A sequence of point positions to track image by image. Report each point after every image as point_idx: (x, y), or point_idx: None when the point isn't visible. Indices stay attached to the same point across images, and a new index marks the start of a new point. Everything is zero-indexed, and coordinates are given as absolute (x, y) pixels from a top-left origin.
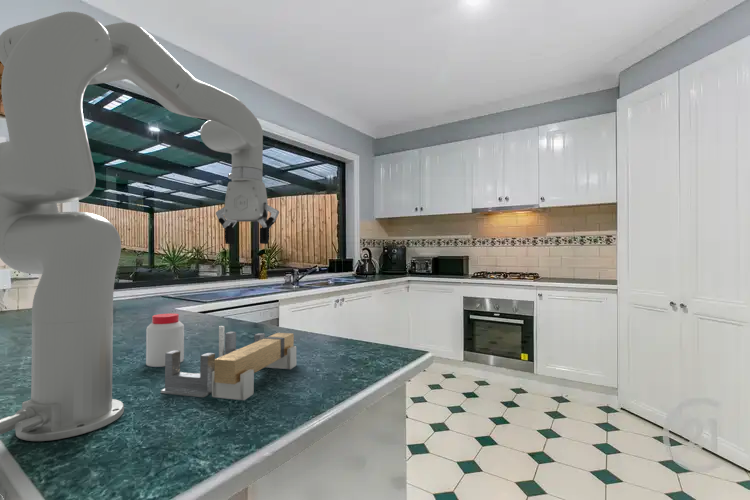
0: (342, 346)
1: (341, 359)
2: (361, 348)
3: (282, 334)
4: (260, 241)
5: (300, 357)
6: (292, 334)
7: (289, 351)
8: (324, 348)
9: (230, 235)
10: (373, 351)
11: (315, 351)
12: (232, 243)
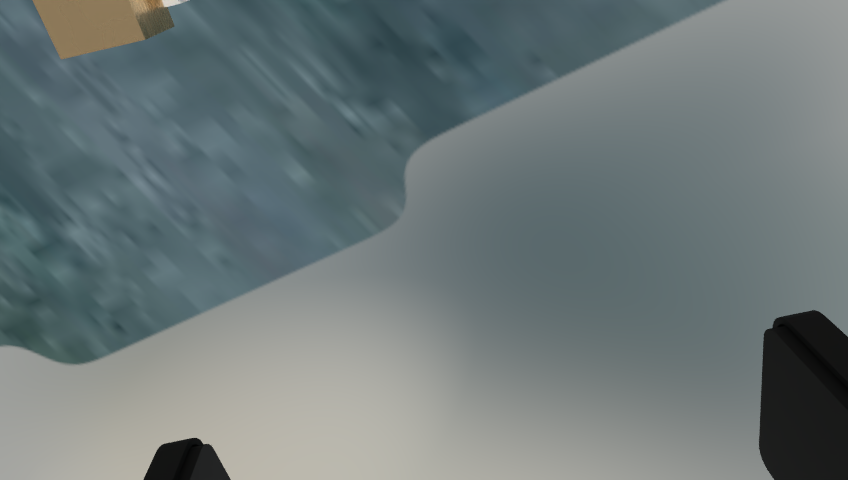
0: (160, 320)
1: (19, 172)
2: (78, 326)
3: (86, 13)
4: (181, 454)
5: (176, 125)
6: (55, 45)
7: None
8: (197, 270)
9: (846, 477)
10: (9, 310)
11: (193, 221)
12: (760, 415)
